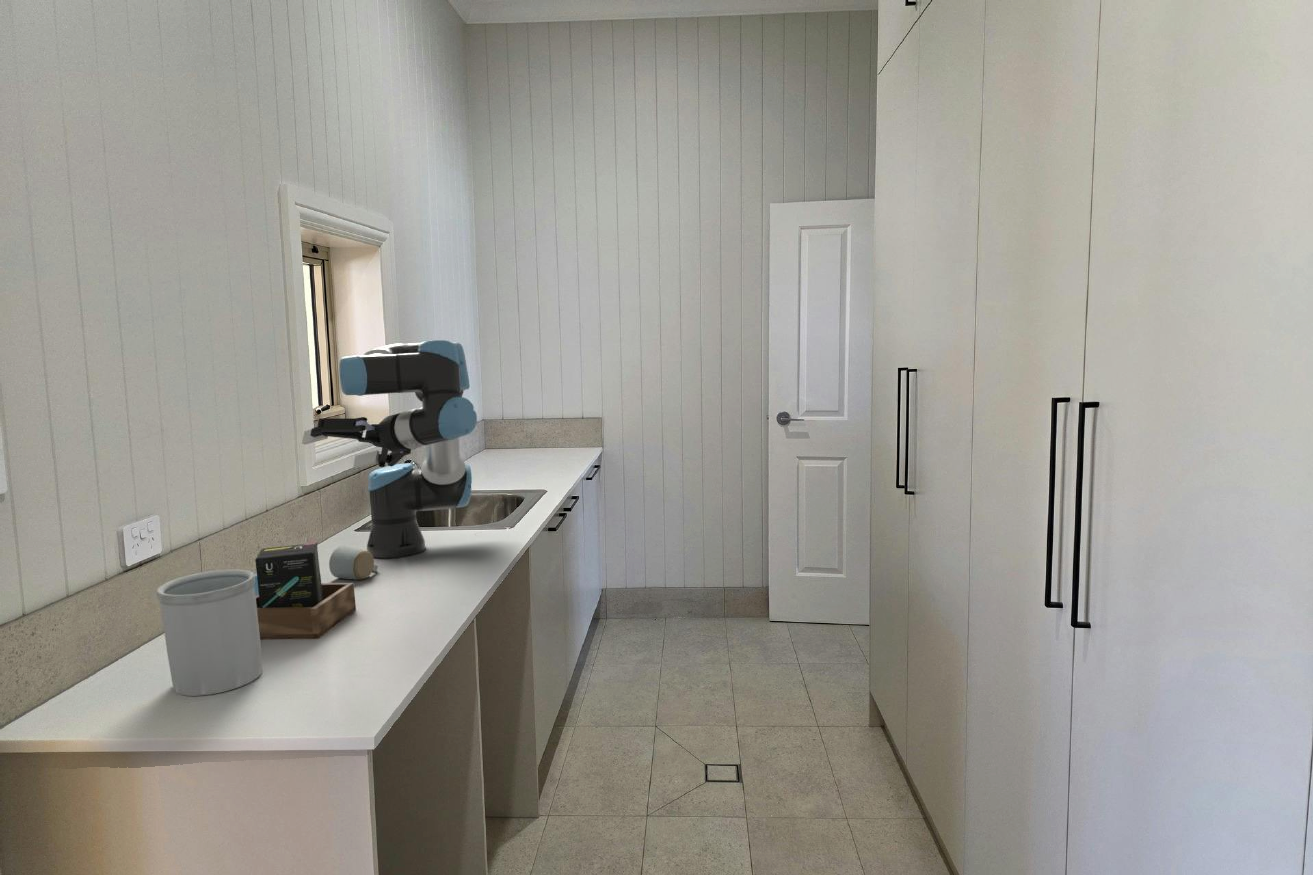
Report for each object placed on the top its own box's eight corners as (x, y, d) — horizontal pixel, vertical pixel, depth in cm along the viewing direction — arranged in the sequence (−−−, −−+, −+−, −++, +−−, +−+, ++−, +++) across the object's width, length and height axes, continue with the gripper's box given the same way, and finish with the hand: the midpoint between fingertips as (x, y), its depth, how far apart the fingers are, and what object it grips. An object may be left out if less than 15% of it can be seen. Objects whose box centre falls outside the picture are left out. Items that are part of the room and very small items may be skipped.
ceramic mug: (356, 583, 202) (354, 552, 201) (329, 581, 205) (327, 549, 204) (386, 572, 211) (384, 542, 210) (360, 570, 214) (358, 540, 214)
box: (279, 610, 183) (276, 583, 182) (356, 610, 182) (353, 582, 181) (234, 639, 166) (231, 609, 165) (318, 638, 165) (315, 608, 164)
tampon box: (324, 609, 180) (318, 541, 178) (320, 622, 171) (314, 551, 169) (267, 616, 177) (261, 547, 175) (261, 630, 168) (254, 558, 166)
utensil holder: (162, 705, 137) (150, 599, 134) (173, 673, 150) (162, 576, 148) (263, 687, 142) (253, 585, 140) (265, 657, 156) (256, 564, 154)
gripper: (355, 423, 157) (277, 444, 167) (446, 470, 177) (372, 487, 187) (362, 387, 161) (285, 410, 170) (451, 437, 180) (377, 455, 190)
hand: (330, 450), depth 178 cm, fingers open, 13 cm apart
